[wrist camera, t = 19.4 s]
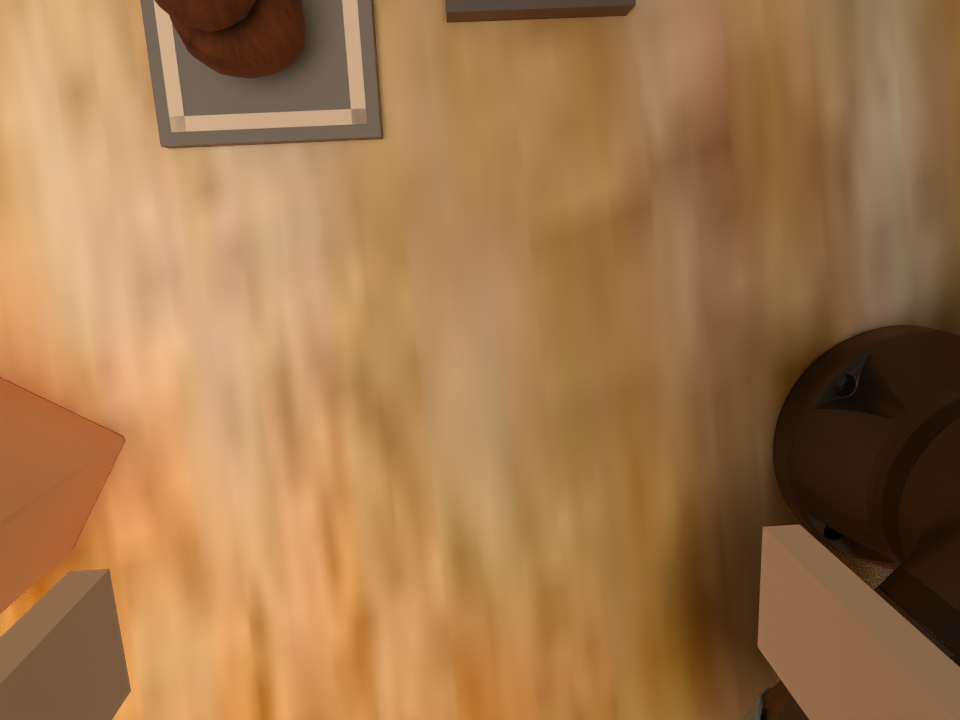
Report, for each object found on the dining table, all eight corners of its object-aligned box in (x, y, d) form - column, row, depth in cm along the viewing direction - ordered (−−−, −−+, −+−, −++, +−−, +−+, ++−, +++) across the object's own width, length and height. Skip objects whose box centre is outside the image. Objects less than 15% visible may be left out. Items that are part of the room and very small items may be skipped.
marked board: (365, -97, 37) (362, -108, 35) (382, 138, 39) (380, 136, 38) (136, -89, 36) (125, -100, 35) (169, 148, 39) (160, 146, 38)
